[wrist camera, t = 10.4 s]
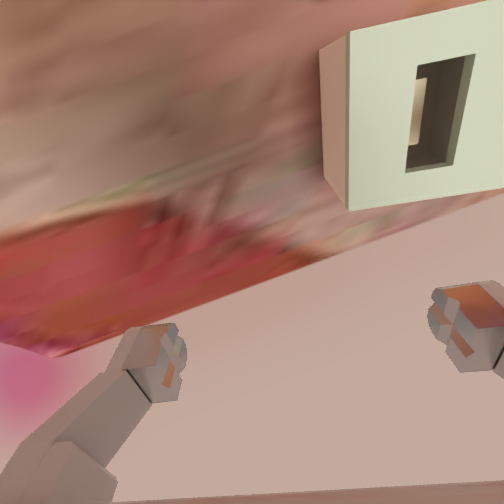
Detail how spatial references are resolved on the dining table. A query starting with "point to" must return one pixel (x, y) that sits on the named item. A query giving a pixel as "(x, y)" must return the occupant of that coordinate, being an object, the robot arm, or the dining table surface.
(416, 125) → the block
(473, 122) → the box
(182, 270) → the dining table surface
